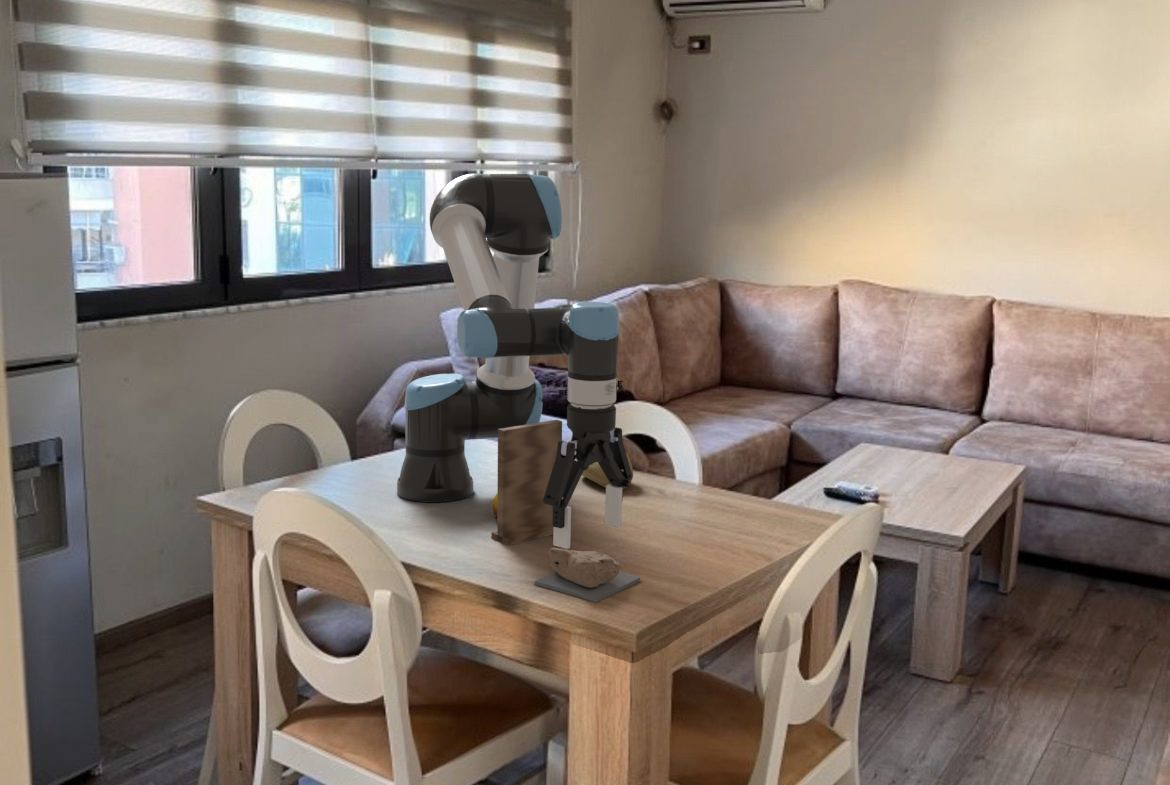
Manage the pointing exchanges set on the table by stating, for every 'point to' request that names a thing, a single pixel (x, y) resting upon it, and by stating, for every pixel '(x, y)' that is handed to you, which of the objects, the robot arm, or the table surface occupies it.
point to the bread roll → (601, 474)
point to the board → (525, 481)
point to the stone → (584, 566)
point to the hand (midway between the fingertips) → (588, 535)
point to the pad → (592, 594)
